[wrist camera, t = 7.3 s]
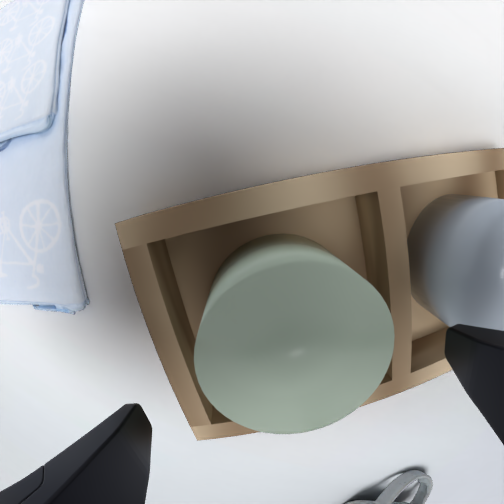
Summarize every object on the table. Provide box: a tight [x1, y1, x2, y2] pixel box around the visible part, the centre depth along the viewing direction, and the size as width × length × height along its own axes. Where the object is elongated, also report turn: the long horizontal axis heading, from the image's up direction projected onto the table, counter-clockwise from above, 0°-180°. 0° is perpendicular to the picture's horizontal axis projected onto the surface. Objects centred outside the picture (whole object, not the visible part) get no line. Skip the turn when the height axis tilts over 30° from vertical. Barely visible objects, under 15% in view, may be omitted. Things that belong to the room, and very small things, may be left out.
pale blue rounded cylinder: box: [407, 194, 504, 331], centre depth 11 cm, size 6×6×5 cm
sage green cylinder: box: [194, 234, 395, 434], centre depth 11 cm, size 6×6×5 cm
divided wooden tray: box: [115, 148, 504, 440], centre depth 13 cm, size 20×10×3 cm, turn 103°
